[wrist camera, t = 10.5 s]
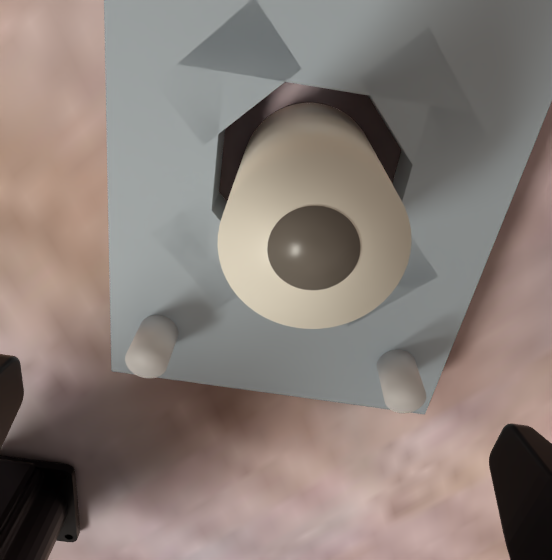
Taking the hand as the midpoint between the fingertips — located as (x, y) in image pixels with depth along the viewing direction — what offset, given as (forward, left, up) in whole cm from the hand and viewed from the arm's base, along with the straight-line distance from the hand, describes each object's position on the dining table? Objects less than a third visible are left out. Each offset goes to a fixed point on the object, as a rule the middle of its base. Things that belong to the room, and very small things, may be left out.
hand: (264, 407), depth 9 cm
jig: (+1, -1, -12) cm, 12 cm away
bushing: (+1, -1, -12) cm, 12 cm away
